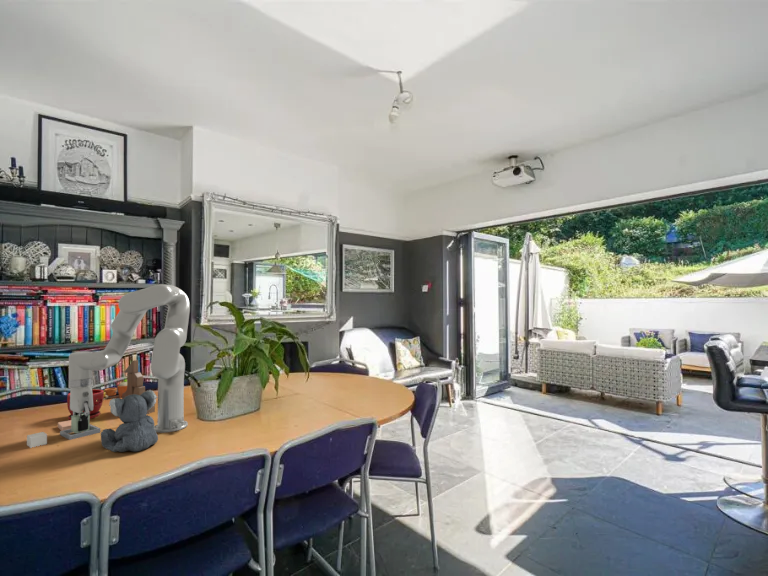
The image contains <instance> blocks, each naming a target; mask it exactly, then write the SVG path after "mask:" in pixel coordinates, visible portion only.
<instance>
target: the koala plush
mask: <svg viewBox="0 0 768 576" xmlns="http://www.w3.org/2000/svg"><path fill="white" fill-rule="evenodd" d="M157 399H158V396H157V395H156V393H155V391H153V390H151V389H148V390H145V392H143V393H142V394H141V395H136V394H133V395H128V396H126V397H125V398H124V399H122V398H121V397H116V398H112V399H110V400H109V401H108V402H109V404H108V406H109V407H110V412H111V414H112V415H113V416H115V417H118V418H119V419H120V421H121V422H122V423H121V424H119V425H118V426H117V428H116V429H115V430H114V429H113V428H105V429H102V430H101V431H100V440H101V441H100V443H101V446H102V447H103V448H104V449H106V450H110V451H111V452H114V453H117V452H119V453H125V452H127V451H129V452H141V451H143V450H144V451H145V450H146V449H148V448H149V447H150V446H153V445H155V444H156V443H157V442H158V441H159V435H158V434H157V433H158V432H156V431H155V429H154V426H155V420H154V418H153V417H152V416H151V415H148V414H147V410H149V409H151V408H152V407H153V406H154V404H155V405H156V404H157Z"/></svg>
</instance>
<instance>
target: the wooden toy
mask: <svg viewBox="0 0 768 576" xmlns="http://www.w3.org/2000/svg"><path fill="white" fill-rule="evenodd" d="M124 373H126V374H127V375H126V377H127V378H126V380H127V390H126V392H125V393H123V394H122V397H121V399H124V398H125V397H126V396H128V395H133V394H136V395H141V394H142V393H143V392H146V386H145V385H144V380H143V379H144V376H143V374H142V372H140V371H139V359H135V360H132V361H131V363H130V364H129V365H128V367H126V369H125V370H124ZM155 406H156V403H155V404H154V406H153V407H152V408H151V409H149V410H147V414H146V415H148V414H152V413H155V412H156V411H155V409H156V407H155Z"/></svg>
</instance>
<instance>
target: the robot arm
mask: <svg viewBox="0 0 768 576" xmlns="http://www.w3.org/2000/svg"><path fill="white" fill-rule="evenodd" d="M161 306H167V309H168V310H167V314H166V315H165V316H166V317H165V323H164V328H163V329H162V330H160V331H159V332H158V333H157V334H156V336H155V338H154V342H153V348H152V354H151V355H152V356H151V361H150V362H151V363H150V372H151V373H152V375H153V376H154V377H155V378H156V379H158V381H157V424H156V425H154V429H155V431H156V433H173V432H177V431H181V430H183V429H185V428H187V427H188V425H189V424H188V421H187V420H185V416H184V409H185V407H184V405H185V404H184V403H185V402H184V399H185V397H184V394H185V393H184V389H185V385H184V384H185V371H186V362H185V361H186V360H185V358H184V356H183V355H182V354H181V353H180V352H181V351H180V350H181V347H182V348H183V346H184V345H185V344H186V341H187V336H188V326H189V319H190V313H191V304H190V300H189V297H188V295H187V293H185V291H183V290H182V289H181V288H179V287H177V286H175V285H172V284H164V283H163V284H162V283H160V284H159V283H158V284H155V285H151V286H148V287H146V288H142V289H137V290H135V291H132V292H128V293H125V294H124V295H122V296H121V297H120V298H119V300H118V309H119V311H118V313H117V314H116V317H114V319H113V320H112V322H111V325H110V329H111V331H112V334H111V337H110V340H109V341H108V343H107V345H106V346H105V347H104V349H102V350H99V351H94V352H91V351H85V350H84V351H83V350H82V351H74V352H71V353H70V354H69V356H68V389H70V391H69V393H70V409H71V410H72V411H73V416H74V415H79V421H78V431H83V430H87V429H88V419H89V417H88V416H89V414H90V412H89V411H92V410H93V393H92V389H93V387H92V386H93V385H94V384H93V382H94V381H93V379H94V376H93V375H94V374H93V371H103V370H106V369H108V368H111V367H113V366H115V365H117V364H118V363H119V362H120V360H122V358H123V356H124V355H125V353H126V351H127V350H128V348H129V346H130V345H131V341H132V338H133V335H134V332H135V330H137V328H138V326H139V325H140V323H141V321H142V320H143V318H144V317H145V315H146V313H147V312H148V310H151V309H155V308H157V307H161ZM82 411H84V412H82ZM81 414H83V415H81Z"/></svg>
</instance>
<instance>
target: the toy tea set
mask: <svg viewBox="0 0 768 576" xmlns="http://www.w3.org/2000/svg"><path fill="white" fill-rule="evenodd" d="M92 390H94V388H92ZM126 390H127V379H124V380H123V382H121V383H119V384H118V385H117V387H108V388H105V389H104V390H103V391H104V397H103V399H104V400H107V399H109V398H110V397H112V396H116V395H117V394H118V398H122V394H123V393H125V392H126ZM97 400H98V399H97Z"/></svg>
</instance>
